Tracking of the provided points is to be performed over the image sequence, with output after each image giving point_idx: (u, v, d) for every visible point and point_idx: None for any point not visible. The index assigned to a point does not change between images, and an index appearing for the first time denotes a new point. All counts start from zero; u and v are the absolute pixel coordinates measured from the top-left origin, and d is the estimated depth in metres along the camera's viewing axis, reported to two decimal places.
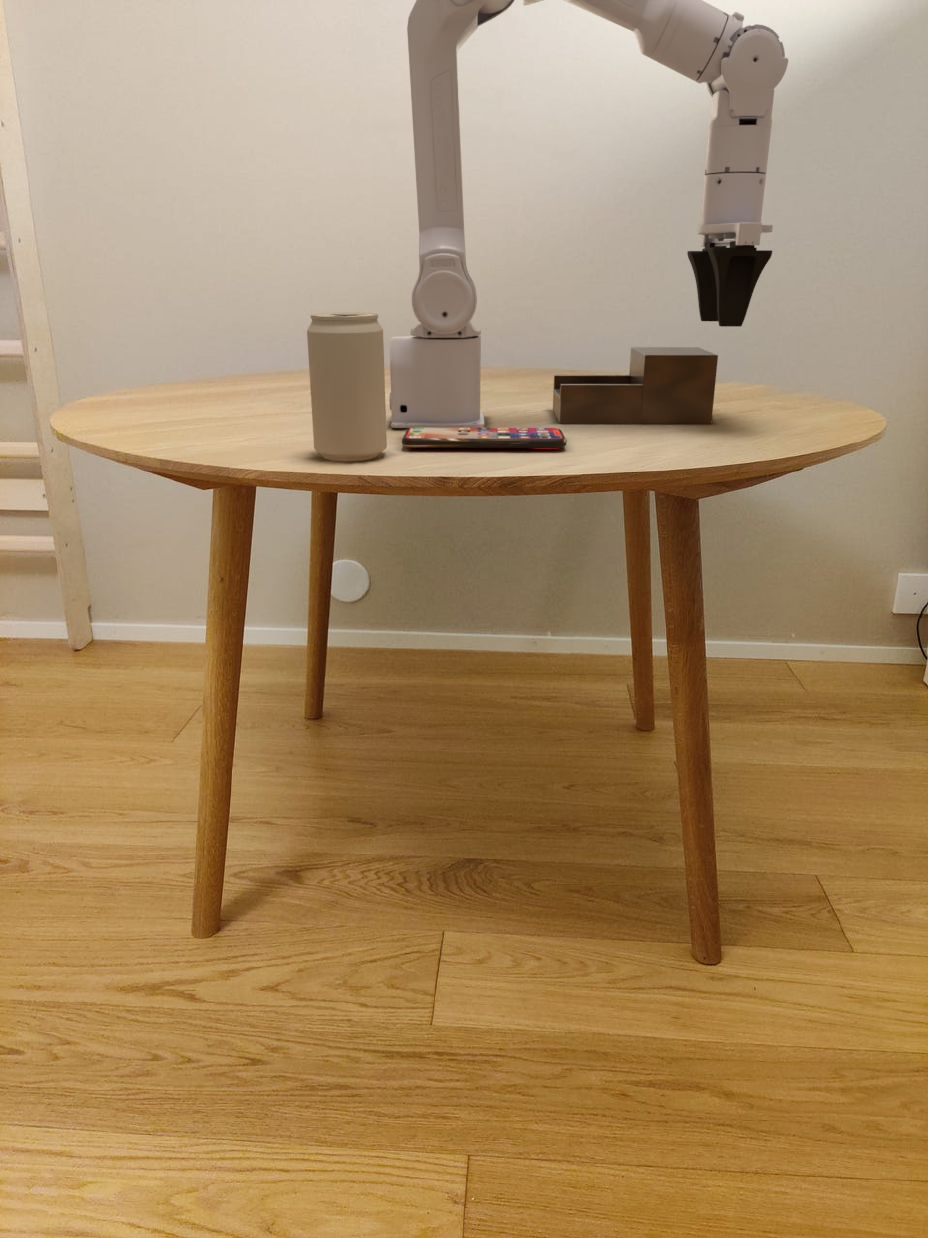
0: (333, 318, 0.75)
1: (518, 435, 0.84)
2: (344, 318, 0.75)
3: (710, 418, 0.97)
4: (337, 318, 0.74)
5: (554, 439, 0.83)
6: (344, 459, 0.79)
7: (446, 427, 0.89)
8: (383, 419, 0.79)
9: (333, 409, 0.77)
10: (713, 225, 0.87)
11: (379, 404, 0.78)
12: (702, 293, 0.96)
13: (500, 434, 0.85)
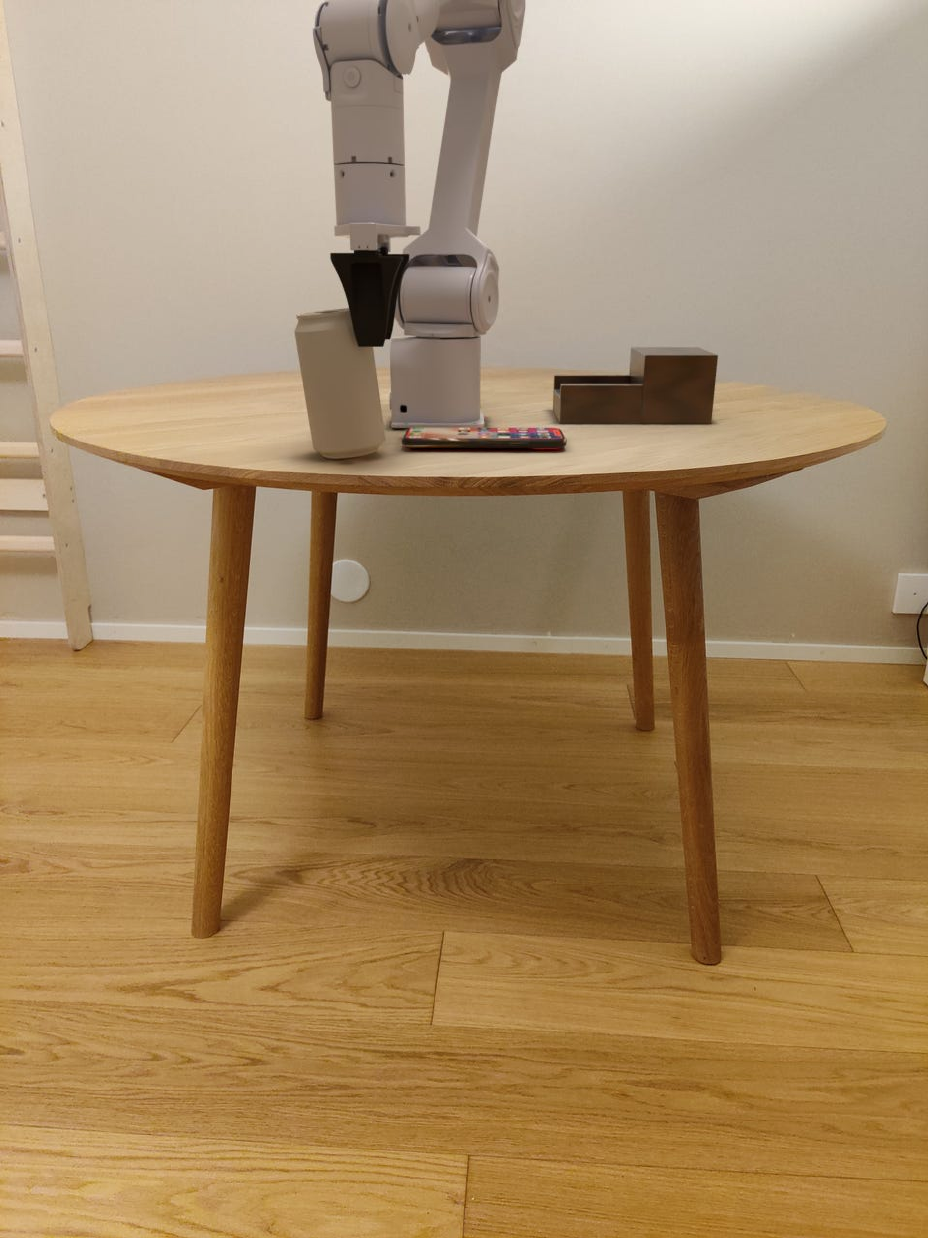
0: (318, 315, 0.74)
1: (518, 435, 0.84)
2: (329, 314, 0.74)
3: (710, 418, 0.97)
4: (322, 315, 0.74)
5: (554, 439, 0.83)
6: (343, 456, 0.79)
7: (446, 427, 0.89)
8: (379, 412, 0.79)
9: (328, 407, 0.77)
10: (339, 226, 0.73)
11: (373, 397, 0.78)
12: None
13: (500, 434, 0.85)
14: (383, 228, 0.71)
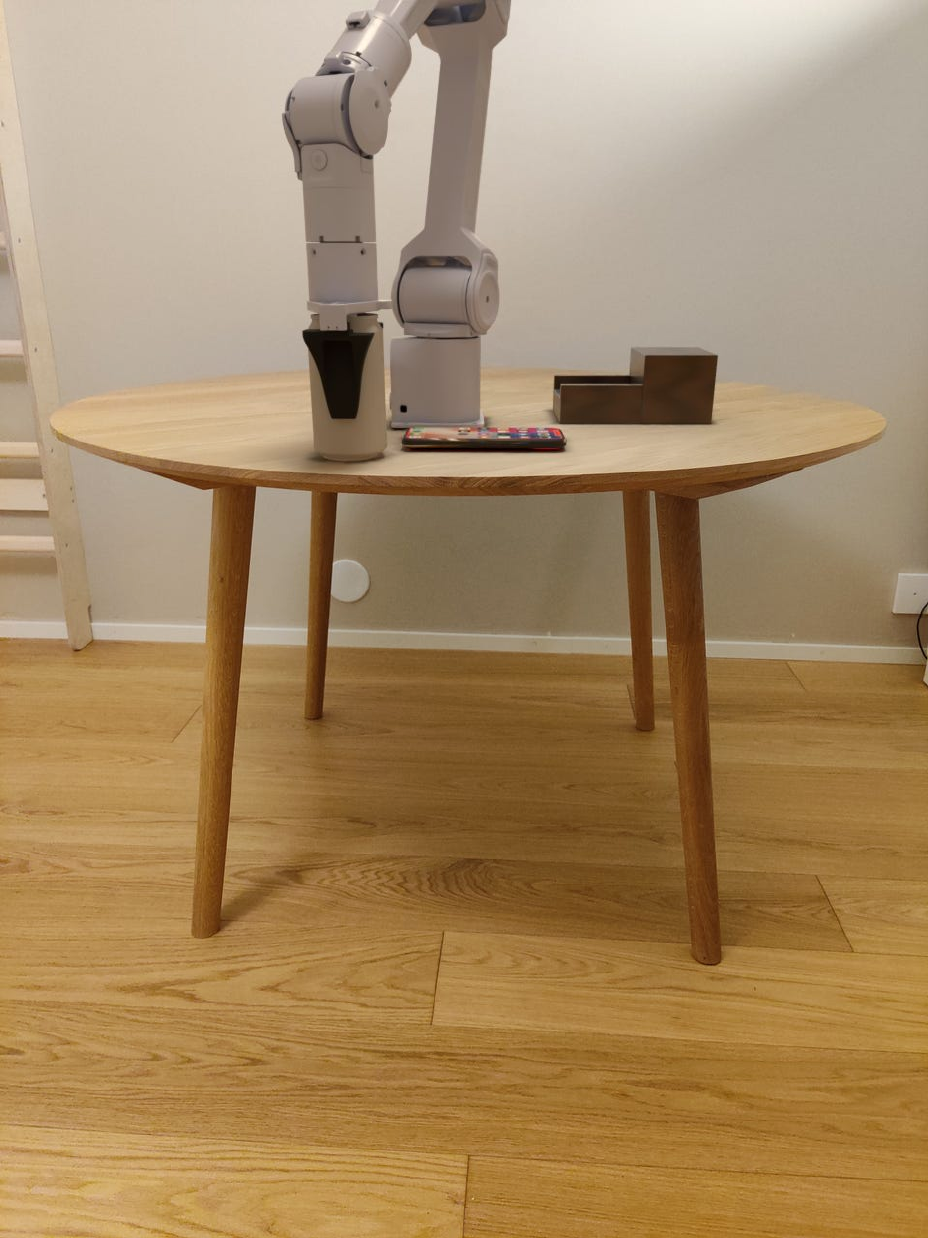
0: None
1: (518, 435, 0.84)
2: None
3: (710, 418, 0.97)
4: None
5: (554, 439, 0.83)
6: (344, 459, 0.79)
7: (446, 427, 0.89)
8: (383, 419, 0.79)
9: None
10: (311, 303, 0.74)
11: (379, 404, 0.78)
12: None
13: (500, 434, 0.85)
14: (353, 306, 0.72)
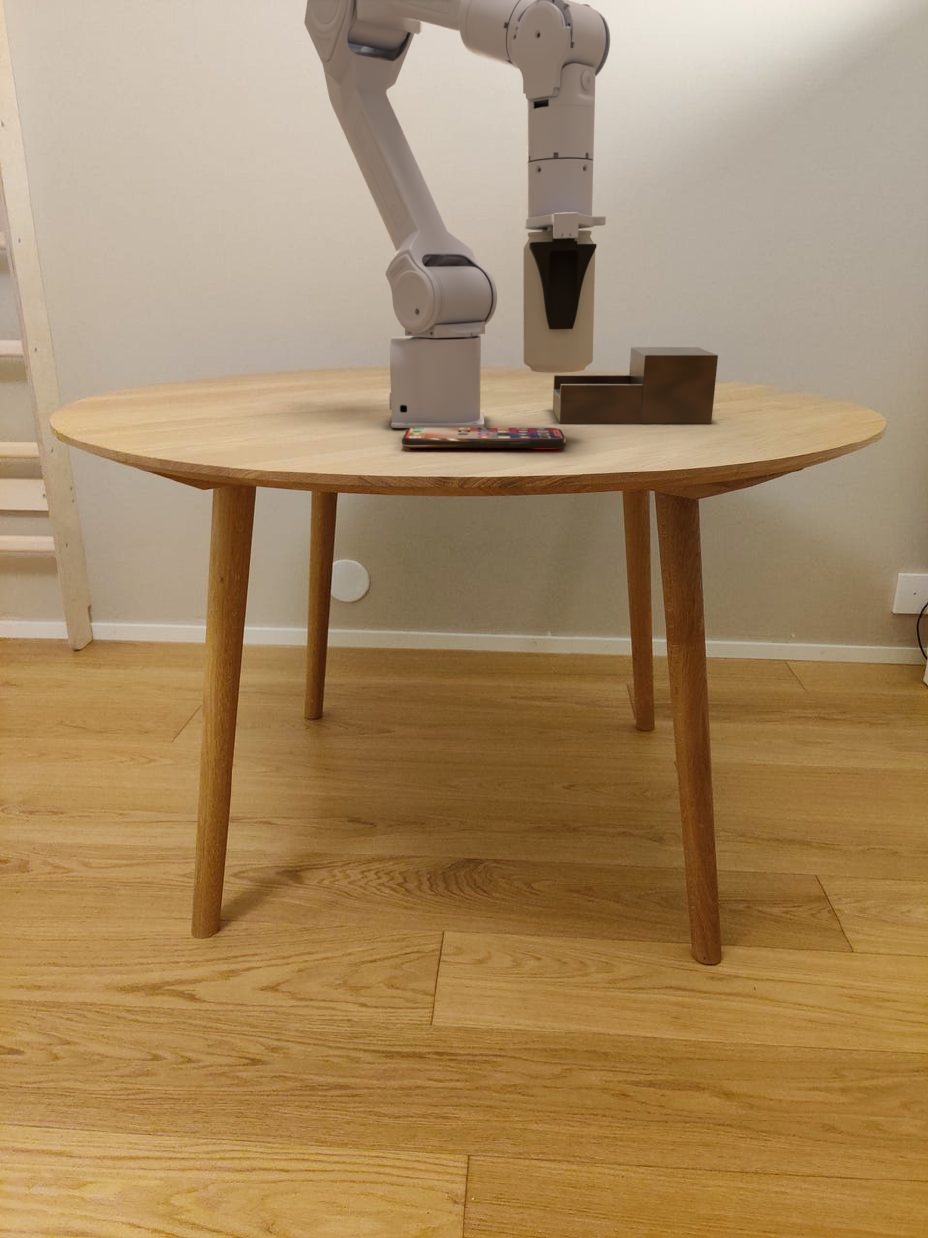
0: None
1: (518, 435, 0.84)
2: None
3: (710, 418, 0.97)
4: None
5: (554, 439, 0.83)
6: (557, 370, 0.83)
7: (446, 427, 0.89)
8: (592, 332, 0.84)
9: None
10: (535, 218, 0.79)
11: (591, 317, 0.83)
12: None
13: (500, 434, 0.85)
14: (581, 217, 0.77)
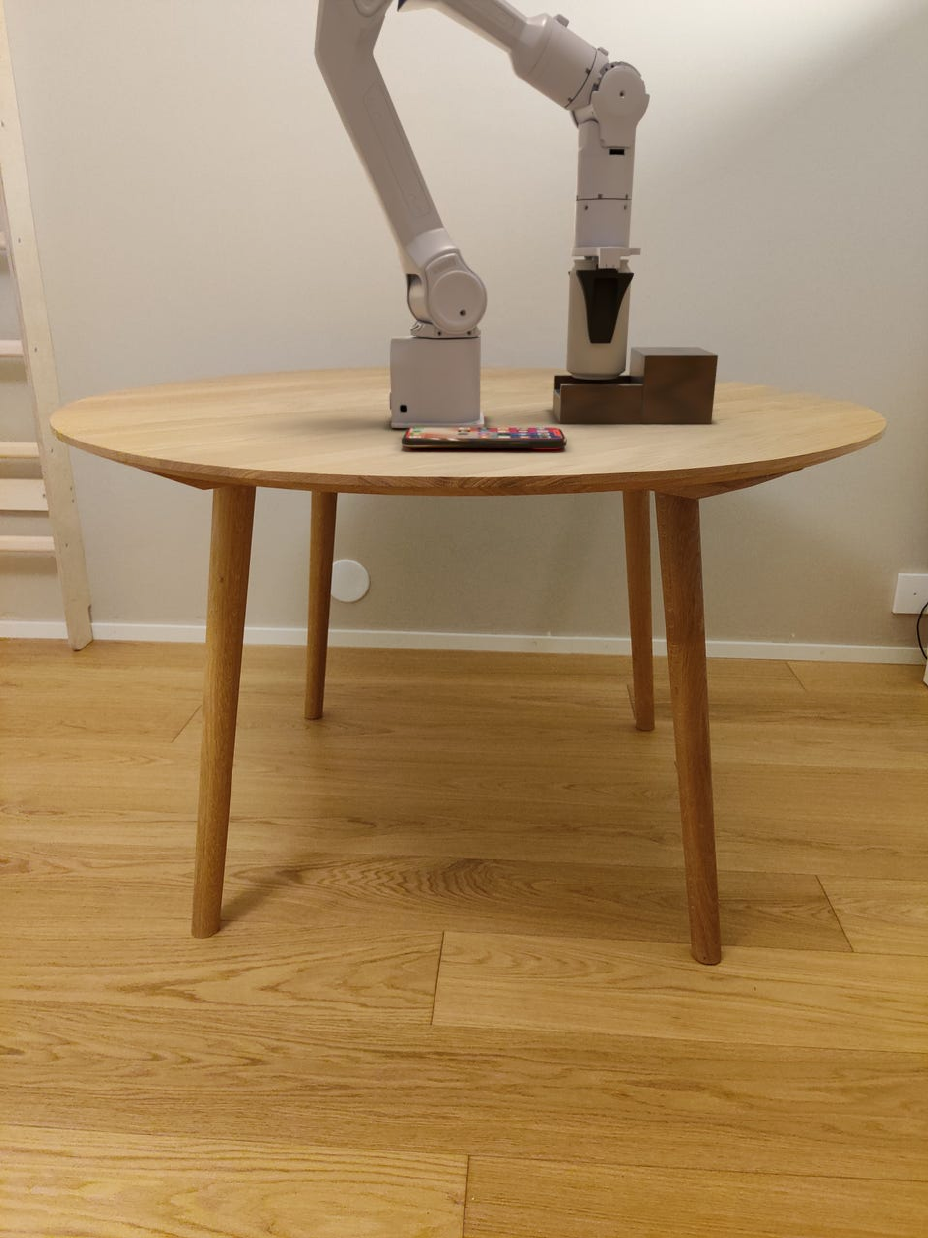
0: None
1: (518, 435, 0.84)
2: None
3: (710, 418, 0.97)
4: None
5: (554, 439, 0.83)
6: (596, 378, 0.97)
7: (446, 427, 0.89)
8: (626, 346, 0.98)
9: None
10: (581, 248, 0.93)
11: (626, 333, 0.97)
12: None
13: (500, 434, 0.85)
14: (621, 250, 0.90)
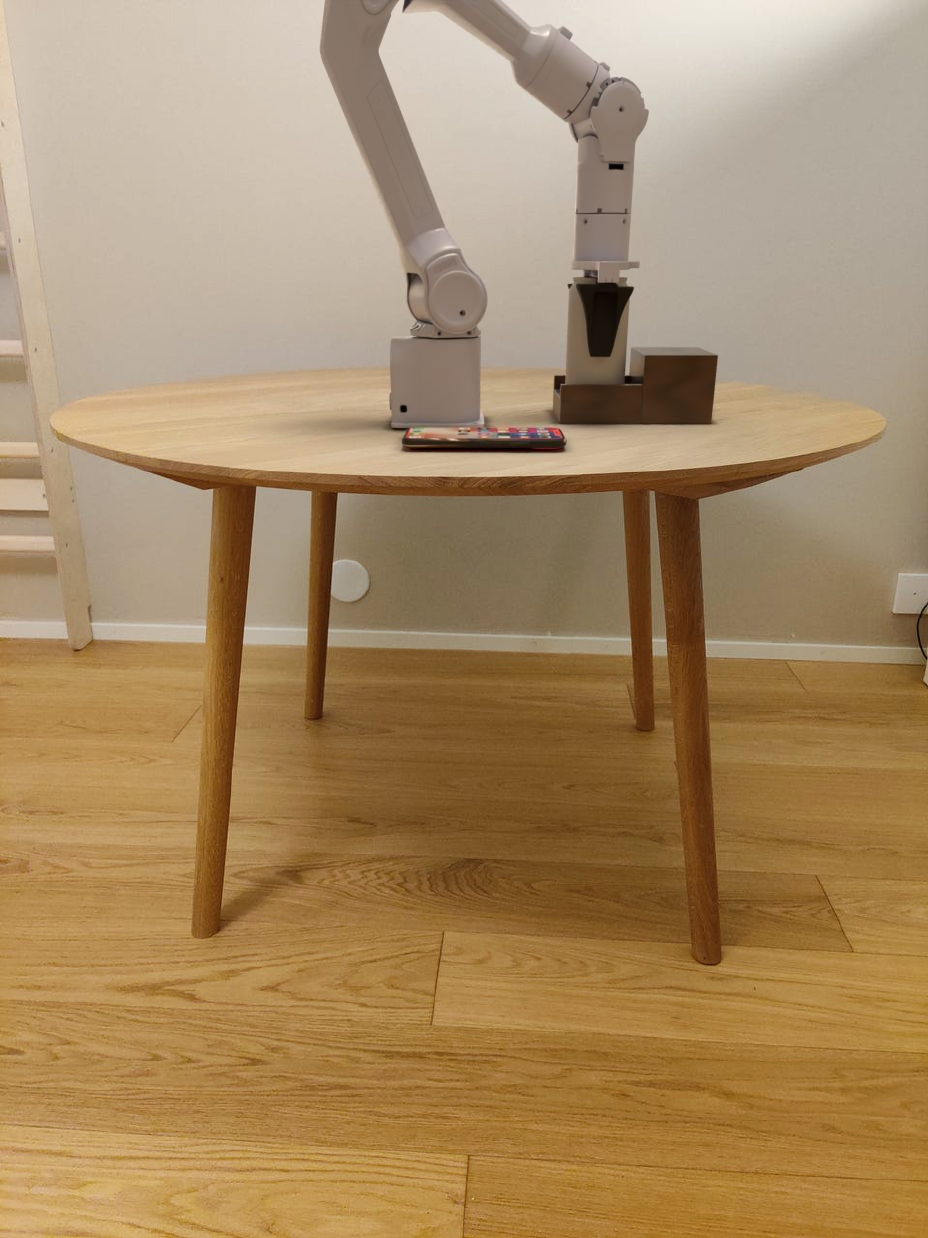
0: None
1: (518, 435, 0.84)
2: None
3: (710, 418, 0.97)
4: None
5: (554, 439, 0.83)
6: None
7: (446, 427, 0.89)
8: (625, 363, 0.98)
9: None
10: (581, 262, 0.93)
11: (624, 350, 0.97)
12: None
13: (500, 434, 0.85)
14: (621, 264, 0.91)
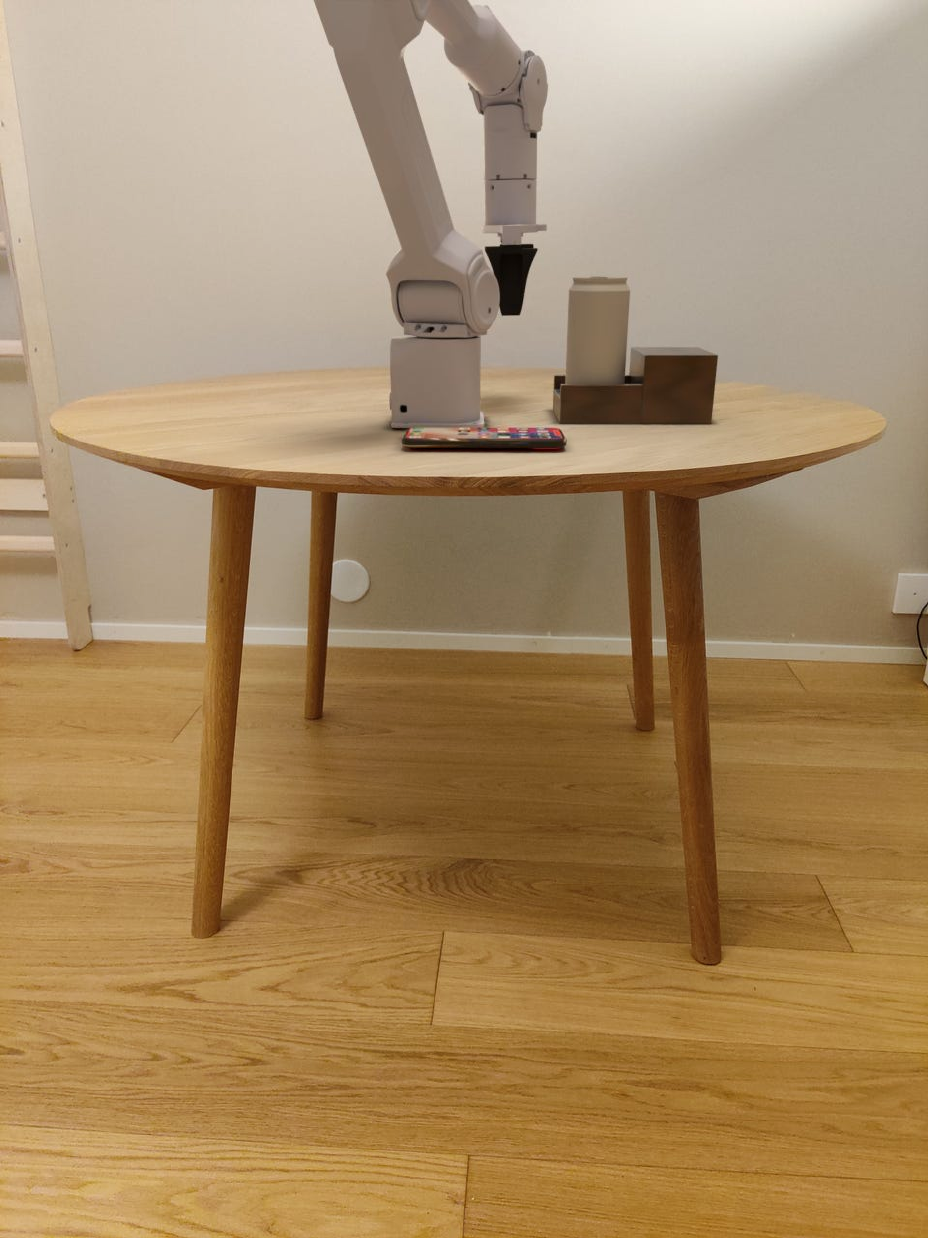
0: (598, 279, 0.93)
1: (518, 435, 0.84)
2: (607, 279, 0.93)
3: (710, 418, 0.97)
4: (601, 279, 0.93)
5: (554, 439, 0.83)
6: None
7: (446, 427, 0.89)
8: (625, 363, 0.98)
9: (591, 353, 0.96)
10: (489, 226, 0.99)
11: (624, 350, 0.97)
12: None
13: (500, 434, 0.85)
14: (524, 227, 0.97)
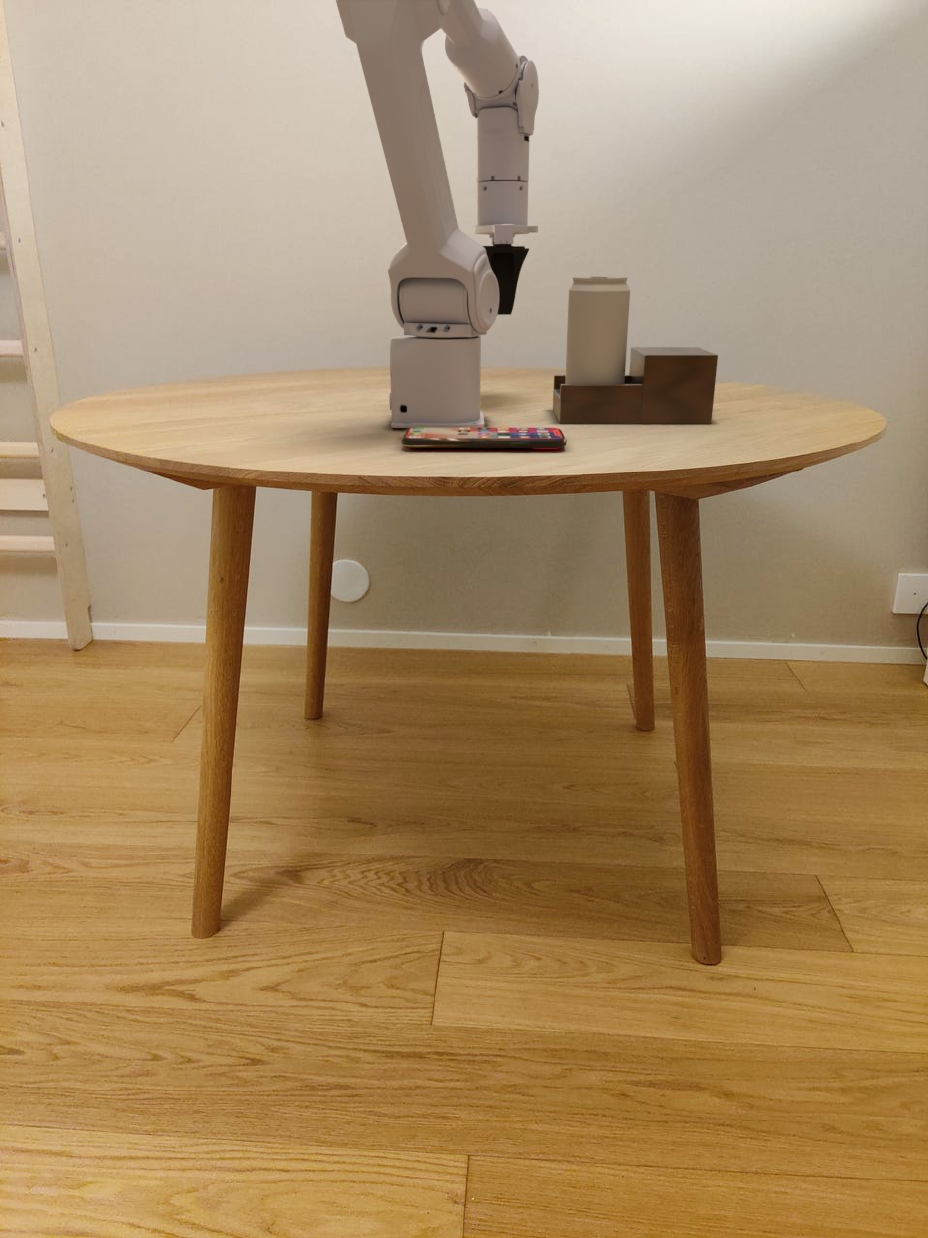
0: (598, 279, 0.93)
1: (518, 435, 0.84)
2: (607, 279, 0.93)
3: (710, 418, 0.97)
4: (601, 279, 0.93)
5: (554, 439, 0.83)
6: None
7: (446, 427, 0.89)
8: (625, 363, 0.98)
9: (591, 353, 0.96)
10: (482, 226, 1.01)
11: (624, 350, 0.97)
12: None
13: (500, 434, 0.85)
14: (516, 227, 0.99)
